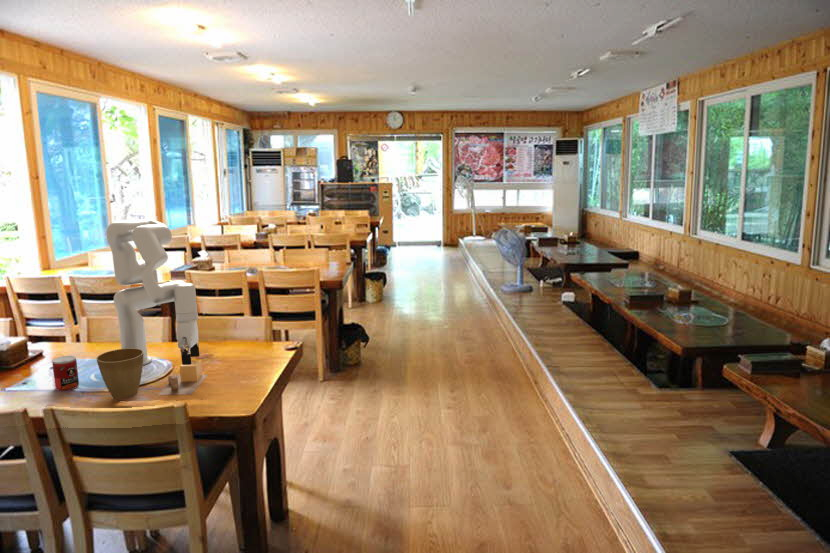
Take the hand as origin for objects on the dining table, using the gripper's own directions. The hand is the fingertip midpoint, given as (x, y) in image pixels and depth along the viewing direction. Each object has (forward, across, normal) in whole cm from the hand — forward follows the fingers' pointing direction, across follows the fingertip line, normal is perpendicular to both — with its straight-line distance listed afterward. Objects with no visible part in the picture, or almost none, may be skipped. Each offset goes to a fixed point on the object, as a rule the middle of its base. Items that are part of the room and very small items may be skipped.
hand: (191, 360), depth 223 cm
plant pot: (+9, +13, -20) cm, 26 cm away
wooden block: (+7, 0, -1) cm, 7 cm away
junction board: (+9, +6, -2) cm, 11 cm away
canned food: (+8, +2, -46) cm, 46 cm away
